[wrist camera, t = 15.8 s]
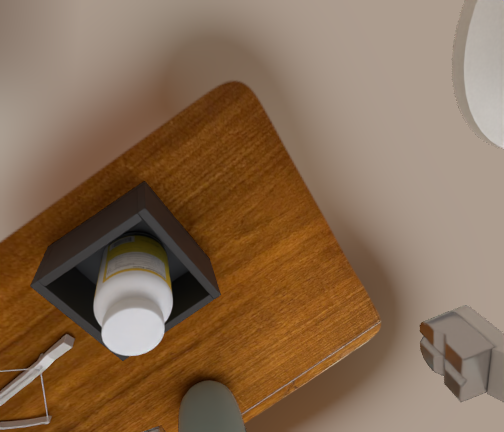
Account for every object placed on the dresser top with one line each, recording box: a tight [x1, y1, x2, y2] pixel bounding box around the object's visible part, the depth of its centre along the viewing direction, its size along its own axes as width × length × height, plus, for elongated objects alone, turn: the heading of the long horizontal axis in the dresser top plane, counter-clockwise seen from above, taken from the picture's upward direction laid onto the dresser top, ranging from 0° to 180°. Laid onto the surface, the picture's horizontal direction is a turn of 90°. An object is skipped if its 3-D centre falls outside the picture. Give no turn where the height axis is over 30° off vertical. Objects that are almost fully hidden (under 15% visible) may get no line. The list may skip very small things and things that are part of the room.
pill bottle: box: [93, 232, 173, 356], centre depth 34 cm, size 6×6×12 cm
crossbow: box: [0, 334, 74, 430], centre depth 42 cm, size 16×13×2 cm
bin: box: [30, 181, 221, 361], centre depth 37 cm, size 12×12×7 cm
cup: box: [178, 380, 246, 432], centre depth 47 cm, size 8×8×10 cm
